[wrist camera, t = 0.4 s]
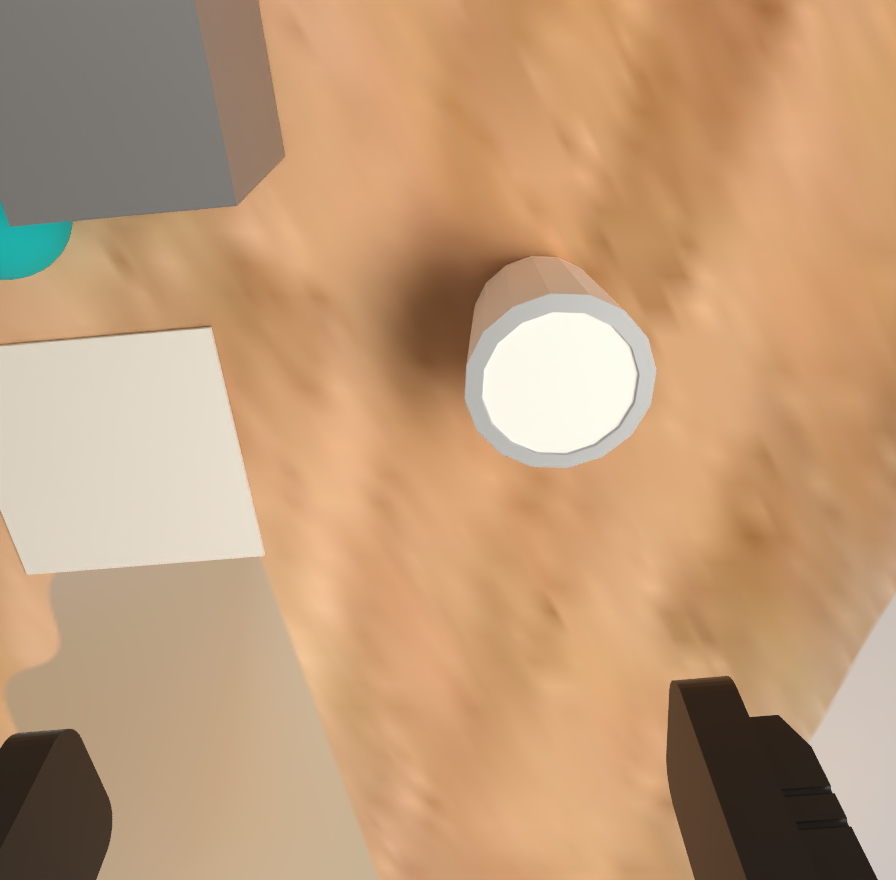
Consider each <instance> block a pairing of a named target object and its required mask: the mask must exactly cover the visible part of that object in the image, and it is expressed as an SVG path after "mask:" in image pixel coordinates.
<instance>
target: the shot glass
mask: <svg viewBox="0 0 896 880" xmlns="http://www.w3.org/2000/svg"><path fill="white" fill-rule="evenodd" d="M655 377H656V367H655V363H654V360H653V356H652V352H651V348H650V345H649V341H648V337H647V336H646V335H645V334H644V333H643V332H642V330H641V329H640V328H639V327H638V326H637V325H636V324H635V322H634V321H633V320H632V319H631V318H630V317H629V315H628V314H627V313H626V312H625V311H624V310H623V309H622V308H621V307H620V306H619V305H618V304H617V303H616V302H615V301H614V300H613V299H612V298H611V297H610V296H609V295H608V294H607V293H606V292H605V291H604V290H603V289H602V288H601V287H600V286H599V285H598V284H597V283H596V282H595V281H594V280H593V279H592V278H591V277H590V276H589V275H588V274H586V273H585V272H584V271H583V270H582V269H581V268H580V267H578V266H576V265H574V264H572V263H570V262H567V261H565V260H563V259H561V258H559V257H550V256H529V257H526V258H524V259H521V260H518V261H515V262H513V263H510V264H507V265H505V266H504V267H503V268H502V269H501V270H500V271H498V272H497V273H496V274H495V275H494V276H493V277H492V278H490V279H489V280H488V281H487V282H486V283H485V285H484V288H483V290H482V292H481V294H480V296H479V298H478V300H477V302H476V304H475V307H474V314H473V321H472V328H471V336H470V343H469V350H468V357H467V365H466V383H465V402H466V405H467V407H468V410H469V412H470V415H471V417H472V420H473V422H474V425H475V427H476V430H477V431H478V432H479V433H480V434H481V435H482V436H483V437H484V438H485V439H486V440H487V441H488V442H489V443H490V444H491V445H492V446H493V447H494V448H495V449H496V450H497V451H498V452H499V453H500V454H502V455H505V456H507V457H510V458H512V459H515V460H517V461H520V462H522V463H525V464H527V465H530V466H532V467H560V468H569V467H572V466H575V465H578V464H581V463H585V462H588V461H591V460H594V459H597V458H600V457H603V456H604V455H606V454H607V453H608V452H610V451H611V450H612V449H614V448H615V447H616V446H618V445H619V444H620V443H622V442H623V441H624V440H626V439H627V438H628V437H630V436H631V435H632V434H633V432H634V430H635V429H636V427H637V426H638V424H639V423H640V421H641V419H642V418H643V416H644V415H645V413H646V412H647V410H648V408H649V407H650V405H651V400H652V394H653V389H654V383H655Z"/></svg>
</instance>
